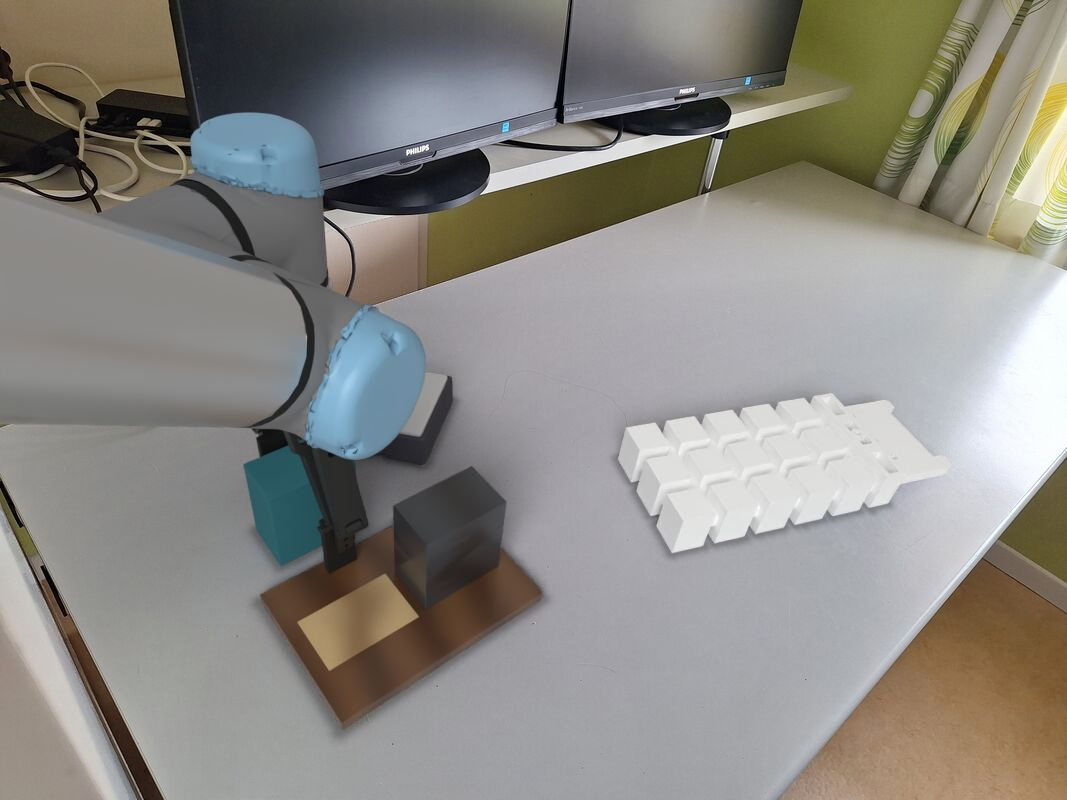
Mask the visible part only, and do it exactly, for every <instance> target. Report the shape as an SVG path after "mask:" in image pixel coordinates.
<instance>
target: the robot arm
mask: <svg viewBox="0 0 1067 800" xmlns="http://www.w3.org/2000/svg"><path fill="white" fill-rule="evenodd" d="M189 142H190V143H189V144H190V152H191V157H190V159H189V162H190V163H191V167H192V169H193V172H192V173H191V174H189V175H187V176H184V177H181V178H179V179H177V180H175V181H174V182H172V184H170V185H166V186H164V187H161V188H159V189H156V190H154V191H151V192H149V193H146V194H143V195H141V196H138V197H135V198H133V199H130V200H128V201H125V202H123V203H119V204H118V205H115V206H112V207H110V208H107V209H104V210H103V211H100V212H97V213H94V214H93V213H90V212H88V211H84V210H81V209H78V208H75V207H71V206H69V205H65V204H62V203H59V202H56V201H53V200H50V199H47V198H44V197H40V196H37V195H34V194H32V193H27V192H25V191H22V190H19V189H15V188H13V187H9V186H6V185H3V184H0V425H17V426H18V425H19V426H20V425H21V426H23V425H27V426H88V427H89V426H91V427H92V426H95V427H96V426H97V427H98V426H99V427H100V426H101V427H157V428H158V427H159V428H160V427H162V428H165V427H167V428H172V427H173V428H229V429H230V428H236V429H237V428H239V429H251V430H252V432H254V434H255V435H258V436H256V437H255V440H256V446H257V449H258V455H259V457H262V456H264V455H266V454H269V453H271V452H274V451H276V450H278V449H281V448H283V447H286V446H288V445H289V447H290V450H291V452H292V453H294V454H297V455H299V456H300V458H301V461H302V464H303V466H304V469H305V472H306V474H307V477H308V479H309V482H310V485H311V487H312V490H313V493H314V495H315V498H316V501H317V503H318V506H319V508H320V511H321V514H322V516H323V519H321V520H319V525H320V526H318V527H317V529H318V531H319V533H320V534H321V540H322V546H321V547H322V555H323V562H324V563H325V569H326V570H327V572H328V573H329V574H330V573H332V572H334V571H336V570H338V569H340V568H342V567H344V566H345V565H347V564H349V563H351V562H353V561H355V560H357V558H356V546H355V545H356V535H355V534H356V533H359V532H360V531H363V530H364V529H366V528H368V527H369V526H370V525H369V524H370V523H369V519H368V516H367V512H366V509H365V506H364V501H363V498H362V494H361V490H360V485H359V482H358V479H357V473H356V474H355V471H356V470H355V471H354V467H353V463H352V460H354V461H357V460H364V459H368V458H370V457H373V456H375V455H377V453H378V454H379V453H380V451H381V450H383V449H384V448H385V447H386V446H387V445H389V444H390V443H391V442H392V441H393V440H394V439H395V438H396V437H397V435H398V434H399V433H400V432H401V430H402V429H403V428H404V426H405V425H406V423H407V422H408V420H409V418H410V416H411V414H412V412H413V411H414V407H415V405H416V403H417V401H418V398H419V395H420V393H421V390H422V387H423V383H424V378H425V372H427V357H426V351H425V347H424V344H423V342H422V340H421V338H420V337H419V335H418V334H417V332H416V331H415V330H414V329H412V328H411V327H409V326H408V325H407V324H405V323H403V322H401V321H399V320H397V319H395V318H393V317H391V316H389V315H387V314H386V313H383V312H382V311H380V310H379V307H376V306H374V305H372V304H367V303H366V304H364V303H362V302H359V301H357V300H355V299H353V298H351V297H348V296H346V295H344V294H342V293H338V292H337V291H335V290H332V289H333V287H334V281H333V279H332V278H331V277H330V276H329V268H328V255H327V242H326V228H325V227H326V226H325V213H324V199H323V198H324V197H323V196H324V194H325V188H324V186H323V182H322V177H321V172H320V165H319V159H318V154H317V148H316V143H315V140H314V139H313V136H312V135H311V134H310V132H309V131H308V130H307V129H306V128H305V127H304V126H302V125H301V124H300V123H298V122H296V121H294V120H291V119H288V118H285V117H282V116H281V115H277V114H272V113H265V112H233V113H227V114H222V115H218V116H214V117H212V118H210V119H207V120H205V121H203V123H201V124H200V126H199V128H196V129H195V130H194V131H193V133H192V134H191V136H190V141H189ZM299 437H301V438H300V439H301V440H303V439H304V440H306V441H303V442H301V443H299V441H300V440H299V439H298V438H299Z"/></svg>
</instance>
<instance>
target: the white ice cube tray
mask: <svg viewBox="0 0 1067 800" xmlns="http://www.w3.org/2000/svg"><path fill="white" fill-rule="evenodd" d="M894 410H895V406H894V404H893V403H892V402H890V401H889V400H887V399H880V400H875V401H869V402H863V403H858V404H851V405H846V406H845V405H844V404H843V403H842V402H841V401H840V400H839V399H838V398H837V397H836V396H835V394H833V392H829V393H825V394H819V395H813V396H812V398H811V400H810V403H809V401H808V400H806V398H805V397H801V398H800V397H799V398H795V399H787V400H782V401H778V402H777V404H776V407H775V409H774V408H773V406H771V404H770V403H765V404H764V403H763V404H759V405H758V404H757V405H753V406H746V407H742V408H741V410H740V413H739V416H738V415H737V413H736V412H735V411H734V410H733V409H729V410H723V411H716V412H711V413H706V414H705V413H704V415H703V419H702V422H701V423H700V421H699V420H698V418H697V417H696V416H695V415H693V416H685V417H680V418H675V419H669V420H666V421H665V424H664V427H663V430H662V431H661V429H660V427H659V425H658V424H657V423H656V422H651V423H644V424H638V425H631V426H627V427H625V430H624V433H623V438H622V442H621V445H620V449H619V454H618V457H617V461H618V463H619V464H620V466H621V467H622V469H623V471H624V473H625V475H626V476H627V478H628V480H629V482H630V483H635V482H638V483H637V486H636V490H635V492H636V494H637V496H638V497H639V499H640V501H641V502H642V504H643V506H644V507H645V509H646V511H647V513H648V514H649V516H650V517H653V516H658V519H657V522H656V525H655V526H656V528H657V530H658V532H659V534H660V536H661V537H662V540H663V541H664V542H665V544H666V546H667V547H668V549H669V551H670V553H671V554H674V553H680V552H683V551H688V550H691V549H696V548H701V547H704V545H705V543H706V539H707V537H708V536H709V537H710V539H711V540H712V543H713V544H718V543H722V542H727V541H730V540H735V539H740V538H745V536H746V533H747V531H748V529H749V527H750V529H751V530H752V532H753V533H754V535H757V534H761V533H766V532H770V531H774V530H779V529H784V528H785V527H786V524H787V522H788V521H789V520H790V521H791V522H792V524H793V525H794V526H797V525H801V524H805V523H810V522H813V521H819V520H822V519H823V518H824V517H825V514H826V513H827V512H828V513H829V514H830V516H831V517H835V516H841V515H844V514H848V513H853V512H857V511H860V509H861V507H862V506H863V504H865V506H866V507H867V508H868V509H870V508H875V507H880V506H884V505H887V504H889V503H890V502H891V500H892V498H893V496H895V493H896V492H897V490H898V488H899V487H900V485H905V484H909V483H913V482H917V481H923V480H928V479H931V478H935V477H940V476H944V475H946V474H947V473H948V471H949V470H950V468H951V467H952V463H951V461H950V460H949V459H948V458H947V457H946V456H944V455H933V454H932V453H931V452H930V451H929V450H928V449H927V448H926V447H925V446H924V445H923V444H922V443H921V442H920V441H919V440H918V438H916V437H915V436H914V435H913V434H912V432H910V431H909V430H908V429H907V428H906V427H905V426H904V425H903V424H902V423H901V422H900V421H899V420H898V419H897V417H895V416H894V414H892V413H893V411H894Z"/></svg>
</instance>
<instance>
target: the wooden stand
mask: <svg viewBox="0 0 1067 800" xmlns="http://www.w3.org/2000/svg"><path fill="white" fill-rule="evenodd" d="M506 508H507V500H506V499H505V498H504V497H503V496H502V495H501V494H500V493H499V492H498V491H497V490H496V489H495V488H494V487H493V486H492V484H490V483H489V482H488V480H486V479H485V478H484V477H483V476H482V475H481V474H480V473H479V472H478V471H477V470H476V469H475V468H474V467H473V466H472V465H471V466H469V467H467V468H465V469H462V470H460V471H458V472H457V473H455V474H452V475H451V476H448V477H447V478H445V479H442V480H440V481H438V482H437V483H435V484H433V485H430V486H429V487H427V488H424V489H422V490H420V491H419V492H417V493H415V494H412V495H411V496H408V497H407V498H404V499H403V500H401V501H399V502H397V503H395V504H393V505H392V513H393V514H392V516H393V525H392V526H389V527H388V528H386V529H384V530H382V531H379V533H377V534H375V535H372V536H371V537H368V538H367V539H364V540H363V541H361V542H359V543H357V544H355V546H356V558H357V560H355V561H353V562H351V563H349V564H347V565H345V566H344V567H342V568H340V569H338V570H336V571H334V572H332V573H330V574H329V573H328V572H327V570H326V569H325V563H324V561H322V562H320V563H318V564H317V565H314V566H313V567H310V568H309V569H307V570H305V571H303V572H301V573H299V574H297V575H295V576H293V577H291V578H290V579H287V580H285V581H284V582H281V583H279V584H278V585H276V586H274V587H272V588H270V589H267V590H266V591H264V592H262V593H260V594H259V597H260V601H261V604H262V606H263V607H264V609H265V611H266V612H267V614H268V615H269V617H270V619H271V620H272V621H273V623H274V625H275V626H276V628H277V629H278V632H280V634H281V636H282V638H283V639H284V640H285V642H286V644H287V645H288V647H289V648H290V650H291V651H292V653H293V654H294V656H295V658H296V659H297V661H298V662H299V665H301V668H302V669H303V670H304V672H305V674H306V675H307V677H308V678H309V679H310V682H311V684H312V685H313V687H314V688H315V690H316V691H317V692H318V694H319V696H320V698H322V700H323V702H324V703H325V705H326V707H327V709H328V710H329V712H330V713H331V715H332V716H333V718H334V719H335V721H336V722H337V724H338V726H339V728H340V729H341V730H342V731H344V730H345V729H347V728H348V727H350V726H352V725H353V724H354V723H356V722H358V721H359V720H361V719H362V718H363V717H365V716H367V715H368V714H370V713H371V712H373V711H375V710H376V709H377V708H380V707H381V706H382V705H383V704H385V703H386V702H388V701H389V700H391V699H392V698H394V697H396V696H397V695H399V694H401V692H403V691H405V690H407V689H408V688H409V687H411V686H412V685H414V684H415V683H417V682H418V681H420V680H421V679H423V678H425V677H426V676H428V675H429V674H430V673H432V672H434V671H435V670H437V669H438V668H439V667H441V666H443V665H445V664H446V663H448V662H449V661H451V660H452V659H454V658H455V657H457V656H458V655H459V654H461V653H463V652H464V651H466V650H467V649H469V648H470V647H472V646H473V645H475V644H476V643H478V642H480V641H481V640H482V639H484V638H485V637H488V635H490V634H491V633H493V632H495V631H496V630H499V628H501V627H502V626H504V625H506V624H508V623H509V622H510V621H512V620H513V619H514V618H517V617H518V616H519V615H521V614H523V613H524V612H525V611H527V610H528V609H530V608H531V607H532V606H534V605H535V604H537V603H539V602H540V601H542V598H543V591H542V590H541V589H540V588H539V586H537V585H536V584H535V582H533V580H532V579H531V578H530V577H529V576H528V575H527V574H526V573H525V572H524V570H522V568H520V566H519V565H518V564H517V563H516V562H515V561H514V560H513V559H512V558H511V557H510V555H509V554H508V553H507V552H506V551H505V550H504V549H503V548H502V541H503V534H504V524H505V517H506Z"/></svg>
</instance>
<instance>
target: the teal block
mask: <svg viewBox="0 0 1067 800" xmlns="http://www.w3.org/2000/svg"><path fill="white" fill-rule="evenodd" d="M298 441H299V443H301V442H303V441H306V440H304V439H300V440H298ZM352 463H353V467H354V471H355V474H356V475H357V471H356V460H352ZM243 470H244V475H245V480H246V485H247V489H248V493H249V500H250V505H251V509H252V514H253V519H254V524H255V529H256V531H257V534H258V535H259V536H260V538H261V539H262V541H263V542H264V544H265V545H266V546H267V548H268V549H269V551H270V552H271V554H272V556H274V559H275V560H276V562H278V564H279V565H280V566H281V567H282V566H284V565H286V564H288V563H290V562H292V561H294V560H296V559H298V558H300V557H302V556H305V555H306V554H309V553H310V552H312V551H314V550H316V549H318V548H320V547H322V540H321V534H320V533H319V531H318V529H317V527H318V526H320V525H319V520H321V519H323V516H322V514H321V511H320V508H319V506H318V503H317V501H316V498H315V495H314V493H313V490H312V487H311V485H310V482H309V479H308V477H307V474H306V472H305V469H304V466H303V464H302V461H301V458H300V456H299V455H297V454H294V453H292V452H291V450H290V447H289V445H288V446H286V447H283V448H281V449H278V450H276V451H274V452H271V453H269V454H266V455H264V456H262V457H260V456H259V457H256V458H255V459H252V460H250V461H247V462H245V463H243Z"/></svg>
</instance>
